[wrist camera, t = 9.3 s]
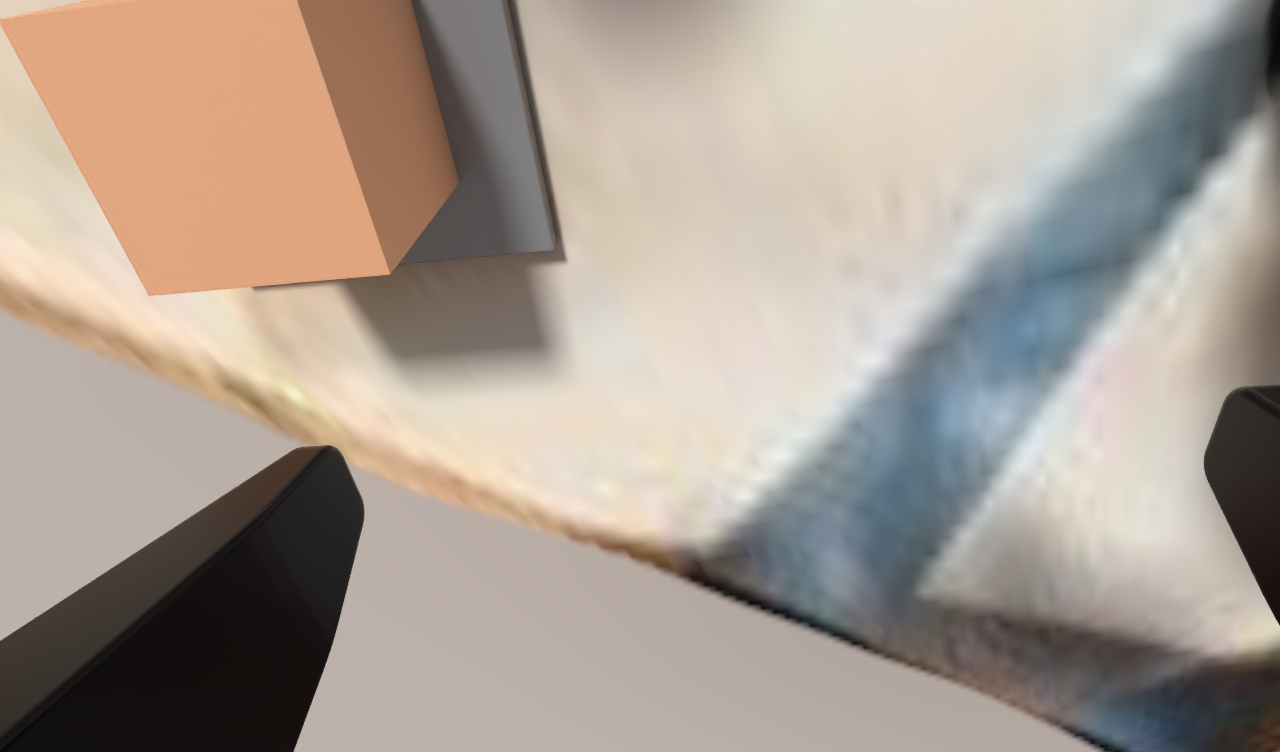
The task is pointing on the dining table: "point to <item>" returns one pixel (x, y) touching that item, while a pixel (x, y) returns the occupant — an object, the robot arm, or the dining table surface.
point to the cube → (246, 133)
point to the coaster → (482, 136)
